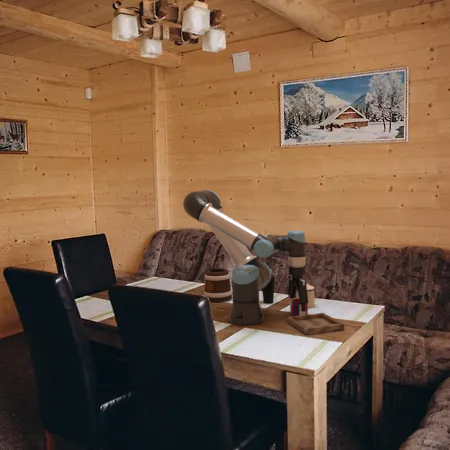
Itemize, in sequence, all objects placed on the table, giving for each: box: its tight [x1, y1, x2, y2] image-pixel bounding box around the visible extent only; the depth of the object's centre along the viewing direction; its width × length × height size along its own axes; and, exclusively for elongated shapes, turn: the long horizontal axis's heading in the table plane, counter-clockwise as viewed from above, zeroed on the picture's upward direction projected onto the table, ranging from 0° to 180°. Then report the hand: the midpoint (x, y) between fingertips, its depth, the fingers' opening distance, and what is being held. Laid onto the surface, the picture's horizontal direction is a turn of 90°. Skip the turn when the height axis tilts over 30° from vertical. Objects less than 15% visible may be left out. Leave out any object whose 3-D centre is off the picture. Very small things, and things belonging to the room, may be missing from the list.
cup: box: [290, 299, 309, 316], centre depth 223 cm, size 7×10×7 cm
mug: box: [203, 268, 233, 303], centre depth 259 cm, size 20×15×15 cm
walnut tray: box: [286, 312, 345, 336], centre depth 207 cm, size 17×18×2 cm
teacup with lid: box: [296, 282, 316, 309], centre depth 239 cm, size 12×9×12 cm
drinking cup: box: [261, 262, 276, 305], centre depth 247 cm, size 8×8×20 cm
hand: (297, 315), depth 223 cm, fingers open, 9 cm apart
